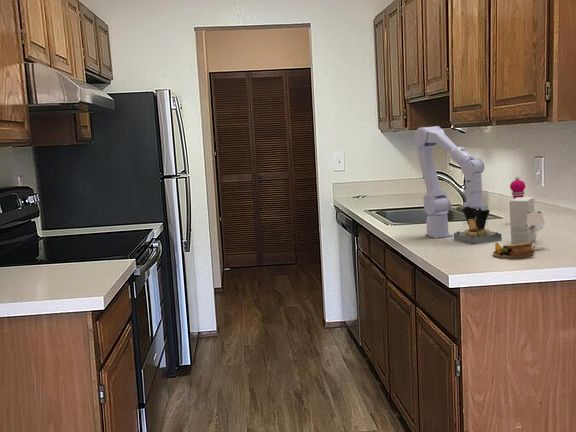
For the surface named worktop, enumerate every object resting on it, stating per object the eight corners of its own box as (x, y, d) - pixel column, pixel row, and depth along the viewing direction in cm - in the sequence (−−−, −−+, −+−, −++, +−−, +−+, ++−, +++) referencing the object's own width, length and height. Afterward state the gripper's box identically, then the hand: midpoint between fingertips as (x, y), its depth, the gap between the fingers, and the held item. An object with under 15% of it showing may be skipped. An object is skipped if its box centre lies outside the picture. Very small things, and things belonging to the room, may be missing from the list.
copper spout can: (472, 234, 222) (471, 217, 221) (467, 233, 226) (466, 216, 226) (483, 233, 222) (482, 216, 222) (478, 232, 227) (477, 214, 226)
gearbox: (450, 238, 234) (449, 229, 233) (479, 234, 236) (478, 225, 235) (471, 244, 217) (470, 234, 217) (501, 240, 219) (501, 230, 219)
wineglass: (540, 245, 202) (538, 210, 201) (548, 248, 197) (546, 212, 195) (523, 247, 202) (521, 212, 201) (531, 250, 197) (529, 214, 195)
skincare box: (518, 239, 217) (516, 197, 215) (537, 240, 213) (535, 196, 211) (510, 244, 211) (508, 200, 209) (529, 244, 206) (527, 199, 205)
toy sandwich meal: (528, 251, 197) (527, 236, 197) (540, 258, 184) (539, 243, 184) (489, 253, 199) (488, 239, 199) (497, 261, 186) (496, 246, 185)
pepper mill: (530, 224, 249) (527, 176, 247) (512, 225, 251) (509, 177, 249) (527, 221, 256) (524, 175, 254) (509, 222, 258) (506, 176, 256)
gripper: (455, 191, 229) (457, 226, 231) (473, 194, 215) (475, 231, 217) (472, 189, 230) (474, 224, 232) (491, 191, 216) (493, 228, 218)
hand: (476, 227), depth 224 cm, fingers open, 7 cm apart
